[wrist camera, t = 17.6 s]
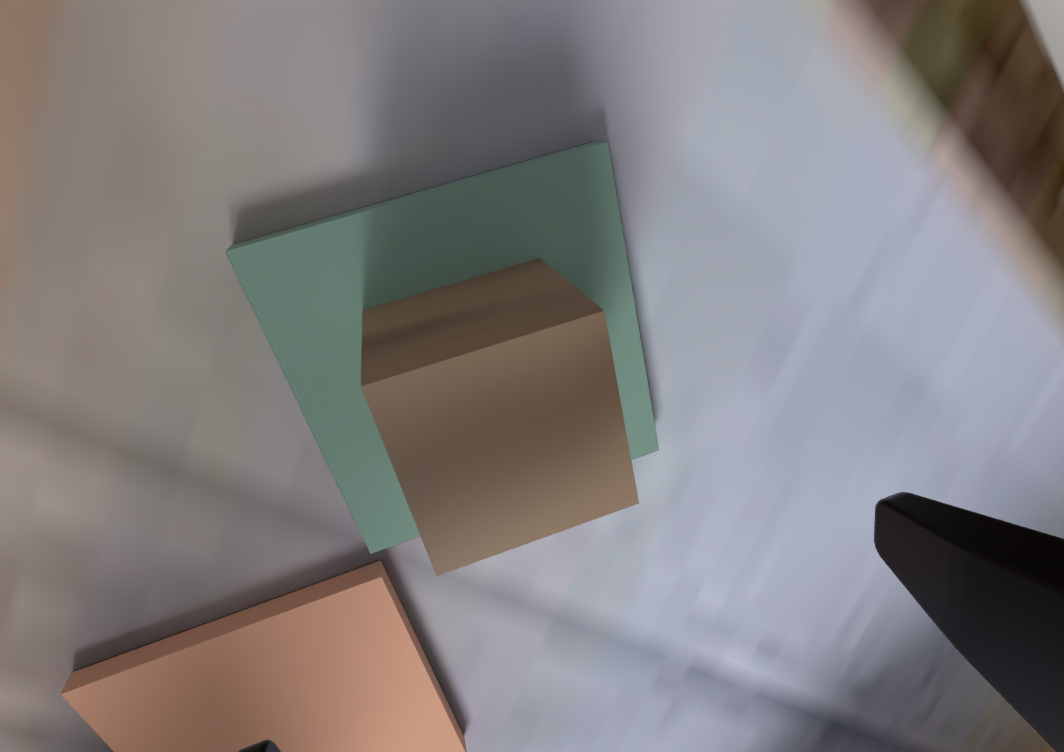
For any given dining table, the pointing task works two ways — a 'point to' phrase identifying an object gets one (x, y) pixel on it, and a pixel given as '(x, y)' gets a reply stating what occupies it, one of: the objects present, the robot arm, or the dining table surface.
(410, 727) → the mat terracotta
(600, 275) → the mat green
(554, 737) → the dining table surface
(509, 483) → the brown cube
